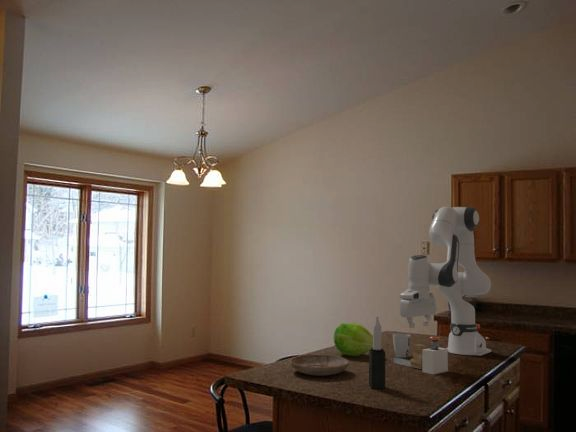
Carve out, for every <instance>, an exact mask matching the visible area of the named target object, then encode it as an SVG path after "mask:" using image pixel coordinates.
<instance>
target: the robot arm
mask: <svg viewBox="0 0 576 432" xmlns="http://www.w3.org/2000/svg"><path fill="white" fill-rule="evenodd" d="M431 220H432V221H431V224H430V226H429V231H428V235H429V238H430V240H431V241H432V242H433V243H434V244H435V245H437V246H439V247H442V248H444V249H447V253H446V261H444V262H441V263H440V262H439V263H436V262H430V261H429V259H428V256H427V255H424V254H417V255H412V256H410V257H409V260H408V266H407V278H408V284H407V288H406V289H405V290H404V291H402V292H401V293H400V294H399V298H400V302H399V315H400V316H401V317H402V318H406V321H407V322H408V328H410V329H414V328H415V327H416V326H415V323H414V322H413V320H414V318H416V317H424V320H423V321H422V322H423V323H422V325H423V326H425V327H426V326H427V327H428V326H429V324H430V323H429V322H430V320H431V316H432V315H436V314H437V312H438V311H437V310H438V309H437V301H436V297H435V295H434V293H433V292H430V286H435V287H436V289H437V291H438V292H440V293H441V294H442V295H443V296H444V297H445V299H446V300H447V302H448V303H449V307H450V315H451V320H450V321H451V322H450V326H449V329H450V333H449V334H448V341H447V343H448V345H447V347H446V348H445V349H448V353H450V354H456V355H462V356H463V355H464V356H481V357H482V356H483V355H486V354H488V353H491V352H492V349H490V348H487V342H486V339H485V338H484V336H483V335H481V334H480V333H479V331H478V329H480V328H481V325H480V324H479V323H476V309H475V307H474V305H472V304H471V303H470V302H469V301H466V300H464V299H463V298H462V296H480V295H487V294H488V293H489V292H490V289H491V288H492V281H491V279H490V277H489V276H488V274H486V273H484V271H482V269H480V267H479V266H478V264H477V261H476V254H475V238H474V229H476V228H477V227H478V226H479V222H480V215H479V211H478V209H476V208H475V207H473V206H472V207H471V206H467V207H465V206H453V207H451V206H442V207H440V208H439V209H436V210H434V212H433V214H432V218H431ZM459 266H460V267H462V268H463V270H464V271H462V272H460V271H459V270H458V269H459V268H458V267H459Z"/></svg>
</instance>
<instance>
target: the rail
mask: <svg viewBox="0 0 576 432" xmlns="http://www.w3.org/2000/svg"><path fill="white" fill-rule="evenodd" d="M392 359H393V361H392V362H393V364H397V365H401V366H406V367H409V368H412V367H411V360H409V359H405V358H400V357H393V358H392ZM417 369H419V368H417ZM419 370H420V369H419Z"/></svg>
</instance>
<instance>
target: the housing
mask: <svg viewBox="0 0 576 432" xmlns="http://www.w3.org/2000/svg"><path fill="white" fill-rule="evenodd" d="M448 354H449V352H448V349H446V348H445V347H440V346H439V350H431V347H430V348H425V349H423V350H422V369H421V370H422V373H425V374H430V375H437V374H442V373H447V372H448V369H449V368H448V367H449V365H448V363H449V362H448V360H449V357H448V356H449V355H448Z"/></svg>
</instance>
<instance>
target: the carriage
mask: <svg viewBox="0 0 576 432" xmlns="http://www.w3.org/2000/svg"><path fill="white" fill-rule="evenodd" d="M423 349H426V344H420V343H416V344H412V358H410V361H411V367H410V368H414V369H415V368H416V369H418V368H419V370H422V350H423Z"/></svg>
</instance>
